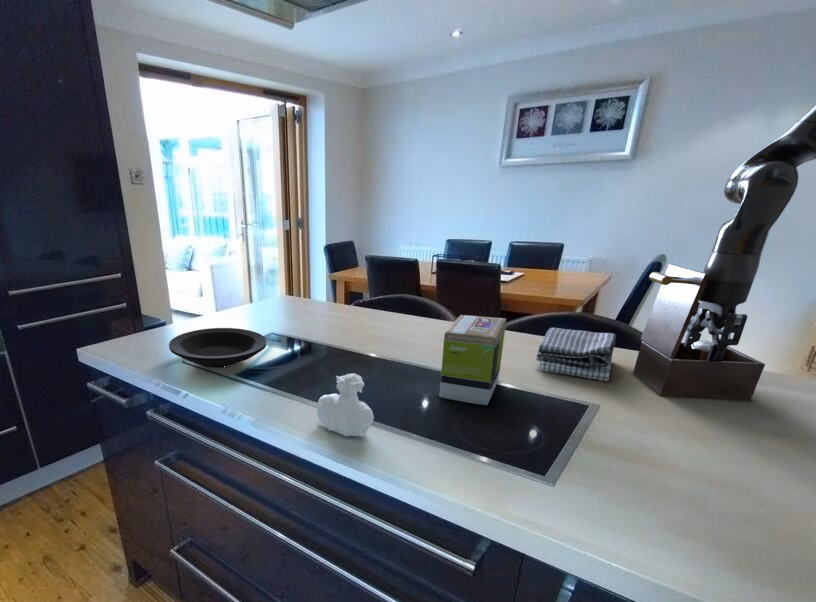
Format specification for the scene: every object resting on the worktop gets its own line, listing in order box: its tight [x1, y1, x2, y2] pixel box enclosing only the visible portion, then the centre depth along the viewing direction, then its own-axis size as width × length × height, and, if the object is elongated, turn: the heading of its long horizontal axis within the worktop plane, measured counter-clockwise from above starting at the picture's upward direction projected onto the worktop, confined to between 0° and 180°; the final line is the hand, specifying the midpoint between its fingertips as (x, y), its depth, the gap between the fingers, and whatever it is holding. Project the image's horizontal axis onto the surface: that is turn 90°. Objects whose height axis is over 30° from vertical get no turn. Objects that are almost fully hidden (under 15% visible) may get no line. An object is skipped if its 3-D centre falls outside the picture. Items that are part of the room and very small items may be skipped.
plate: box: [168, 327, 267, 369], centre depth 116 cm, size 28×24×6 cm
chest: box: [632, 340, 766, 402], centre depth 93 cm, size 16×13×8 cm
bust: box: [316, 372, 375, 437], centre depth 80 cm, size 12×8×11 cm
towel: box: [535, 327, 617, 382], centre depth 106 cm, size 15×18×8 cm
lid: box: [640, 263, 709, 358], centre depth 90 cm, size 16×13×5 cm
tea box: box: [438, 314, 507, 406], centre depth 93 cm, size 15×10×15 cm
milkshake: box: [689, 337, 713, 360], centre depth 92 cm, size 5×5×10 cm
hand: (700, 355), depth 91 cm, fingers open, 8 cm apart
